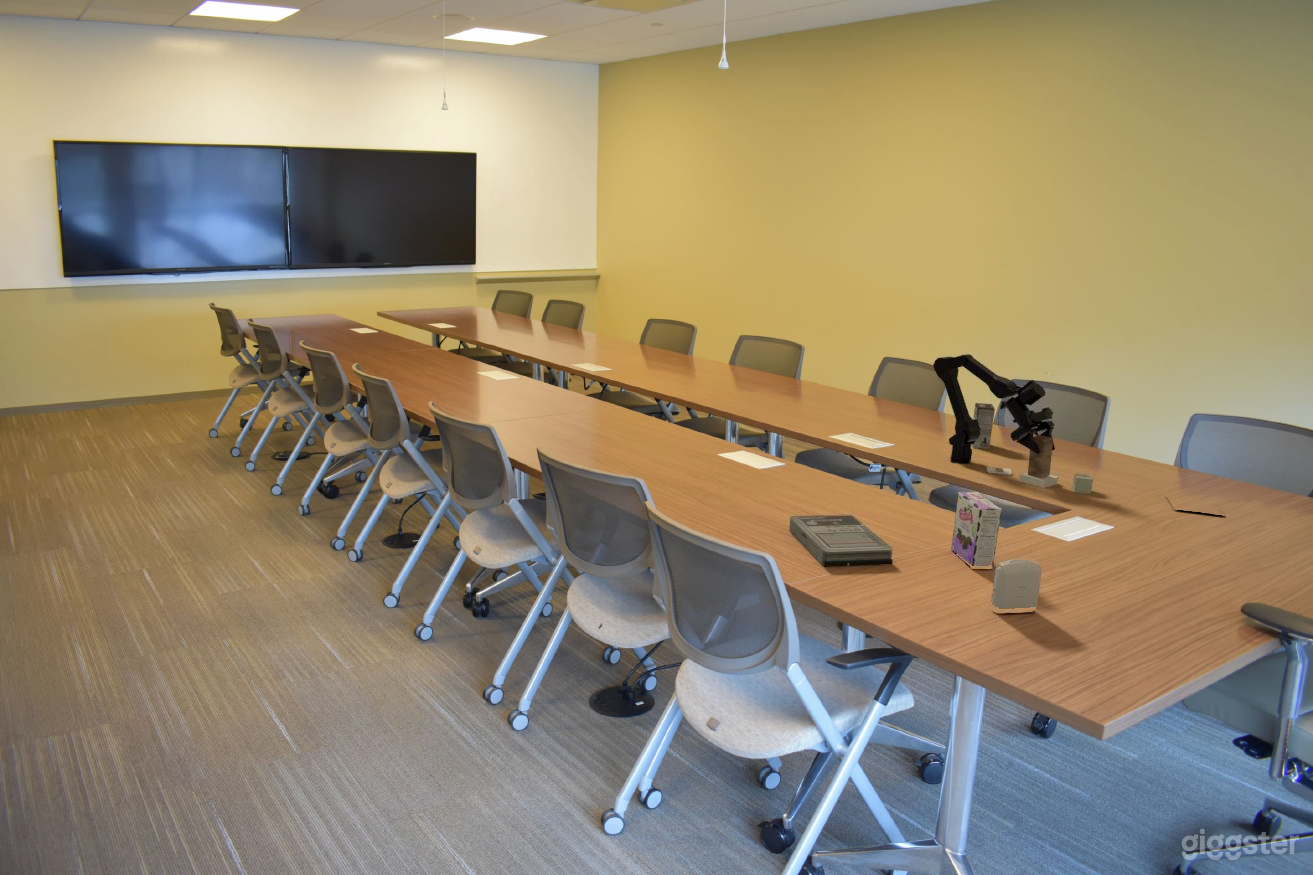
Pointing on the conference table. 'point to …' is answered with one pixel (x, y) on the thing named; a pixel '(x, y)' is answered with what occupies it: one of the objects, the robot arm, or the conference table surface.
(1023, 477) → the grey base block
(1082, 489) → the sage cube
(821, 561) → the hard drive
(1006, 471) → the card
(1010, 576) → the photo printer
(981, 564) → the candy box
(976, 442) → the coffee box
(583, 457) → the conference table surface
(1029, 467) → the walnut pillar
